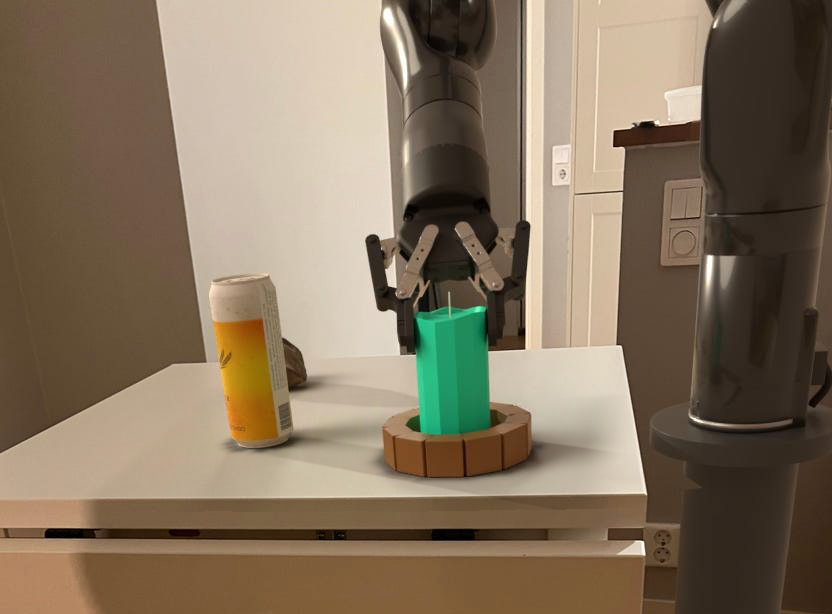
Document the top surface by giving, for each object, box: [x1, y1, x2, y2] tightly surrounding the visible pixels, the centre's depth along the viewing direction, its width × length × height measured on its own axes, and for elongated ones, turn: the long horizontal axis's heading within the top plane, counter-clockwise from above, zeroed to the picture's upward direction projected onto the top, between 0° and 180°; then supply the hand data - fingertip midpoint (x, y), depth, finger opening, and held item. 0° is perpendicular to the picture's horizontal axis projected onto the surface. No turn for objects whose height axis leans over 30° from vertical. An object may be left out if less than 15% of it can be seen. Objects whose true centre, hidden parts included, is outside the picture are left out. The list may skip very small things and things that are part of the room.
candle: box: [414, 291, 491, 435], centre depth 79 cm, size 6×6×12 cm
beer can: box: [208, 272, 294, 449], centre depth 89 cm, size 6×6×15 cm
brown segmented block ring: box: [381, 401, 533, 478], centre depth 82 cm, size 12×12×3 cm
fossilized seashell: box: [282, 336, 308, 389], centre depth 113 cm, size 8×7×10 cm
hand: (451, 343), depth 77 cm, fingers closed on candle, 6 cm apart
